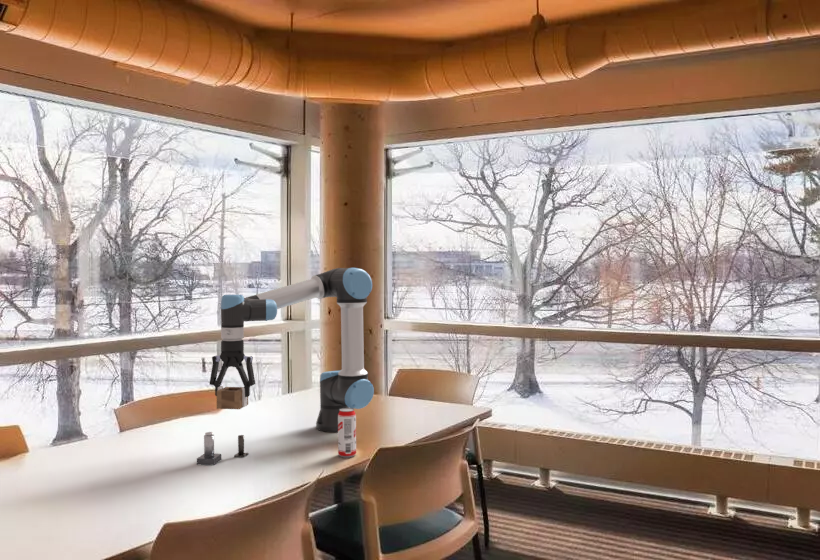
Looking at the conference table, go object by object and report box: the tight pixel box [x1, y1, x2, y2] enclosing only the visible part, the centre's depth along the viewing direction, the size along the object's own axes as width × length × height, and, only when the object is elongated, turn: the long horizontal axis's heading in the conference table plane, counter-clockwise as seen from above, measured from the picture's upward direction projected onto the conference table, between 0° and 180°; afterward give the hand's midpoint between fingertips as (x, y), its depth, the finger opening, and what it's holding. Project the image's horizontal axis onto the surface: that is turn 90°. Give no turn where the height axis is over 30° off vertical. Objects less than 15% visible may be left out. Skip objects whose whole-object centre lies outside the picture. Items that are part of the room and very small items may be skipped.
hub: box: [196, 431, 223, 466], centre depth 219 cm, size 6×6×10 cm
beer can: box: [337, 408, 357, 459], centre depth 225 cm, size 6×6×16 cm
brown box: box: [216, 386, 249, 410], centre depth 224 cm, size 8×8×6 cm
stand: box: [233, 434, 249, 458], centre depth 226 cm, size 4×4×7 cm
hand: (232, 405), depth 224 cm, fingers closed on brown box, 8 cm apart
